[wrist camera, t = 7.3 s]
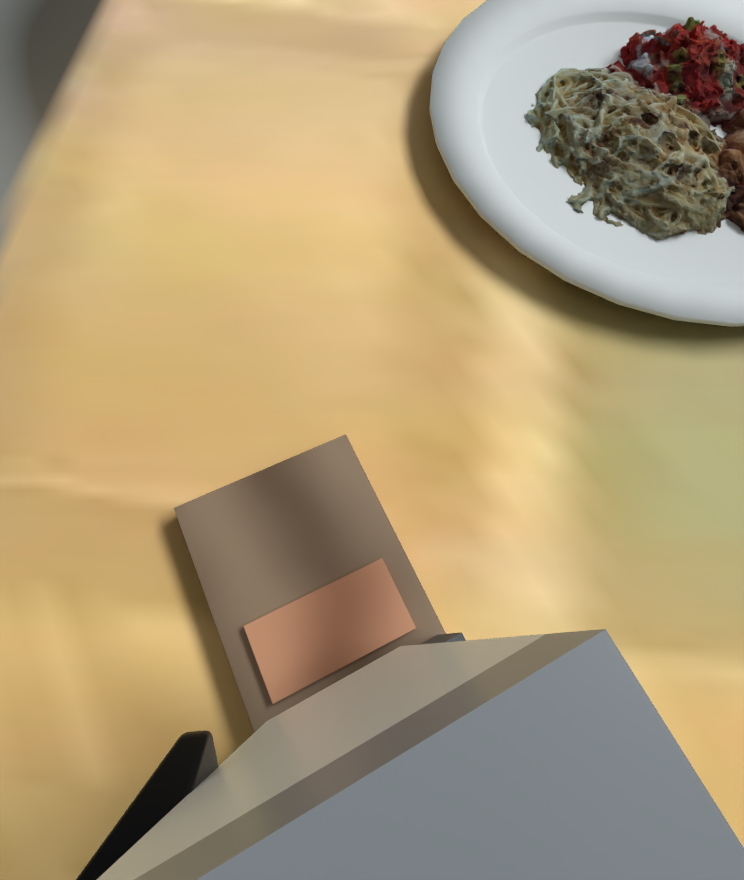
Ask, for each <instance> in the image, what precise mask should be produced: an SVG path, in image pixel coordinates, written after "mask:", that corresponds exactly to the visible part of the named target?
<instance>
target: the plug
mask: <svg viewBox="0 0 744 880" xmlns="http://www.w3.org/2000/svg"><path fill="white" fill-rule="evenodd" d="M97 880H744V848H743V846H742V845H741V843H740V842H739V840H738V838H737V837H736V835H735V834H734V832H733V830H732V829H731V827H730V826H729V824H728V822H727V821H726V819H725V818H724V816H723V815H722V813H721V811H720V810H719V808H718V807H717V805H716V803H715V802H714V800H713V799H712V797H711V796H710V794H709V792H708V791H707V789H706V788H705V786H704V784H703V783H702V781H701V780H700V778H699V777H698V775H697V773H696V772H695V770H694V769H693V767H692V765H691V764H690V762H689V761H688V759H687V758H686V756H685V754H684V753H683V751H682V750H681V748H680V746H679V745H678V743H677V742H676V740H675V739H674V737H673V735H672V734H671V732H670V731H669V729H668V727H667V726H666V724H665V723H664V721H663V720H662V718H661V716H660V715H659V713H658V712H657V710H656V708H655V707H654V705H653V704H652V702H651V701H650V699H649V697H648V696H647V694H646V693H645V691H644V689H643V688H642V686H641V685H640V683H639V682H638V680H637V678H636V677H635V675H634V674H633V672H632V670H631V669H630V667H629V666H628V664H627V662H626V661H625V659H624V658H623V656H622V655H621V653H620V651H619V650H618V648H617V647H616V645H615V643H614V642H613V640H612V639H611V637H610V636H609V634H608V632H607V631H606V629H602V630H590V631H578V632H565V633H553V634H541V635H529V636H517V637H505V638H493V639H480V640H468V641H456V642H444V643H432V644H420V645H408V646H400V647H398V648H396V649H395V650H393V651H391V652H389V653H388V654H386V655H384V656H382V657H380V658H379V659H377V660H375V661H373V662H371V663H370V664H368V665H366V666H364V667H362V668H361V669H359V670H357V671H355V672H354V673H352V674H350V675H348V676H346V677H345V678H343V679H341V680H339V681H337V682H336V683H334V684H332V685H330V686H329V687H327V688H325V689H323V690H321V691H320V692H318V693H316V694H314V695H312V696H311V697H309V698H307V699H305V700H304V701H302V702H300V703H298V704H296V705H295V706H293V707H291V708H289V709H287V710H286V711H284V712H282V713H280V714H278V715H277V716H275V717H273V718H271V719H270V720H268V721H266V722H265V723H264V724H263V725H262V726H261V727H260V728H259V729H258V730H257V731H256V732H255V733H253V734H252V735H251V736H250V737H249V738H248V739H247V740H246V741H245V742H244V743H243V744H242V745H241V746H240V747H238V748H237V749H236V750H235V751H234V752H233V753H232V754H231V755H230V756H229V757H228V758H227V759H226V760H225V761H223V762H222V763H221V764H220V765H219V766H218V768H217V769H216V770H215V771H214V772H213V773H211V774H210V775H209V776H208V777H207V778H206V779H205V780H204V781H203V782H202V783H201V784H200V785H199V786H198V787H196V788H195V789H194V790H193V791H192V792H191V793H189V794H188V795H187V796H186V797H185V798H184V799H183V800H182V801H181V802H179V803H178V804H177V805H176V806H175V807H174V808H173V809H172V810H171V811H170V812H169V813H168V814H167V815H166V816H164V817H163V818H162V819H161V820H160V821H159V822H158V823H157V824H156V825H155V826H154V827H153V828H152V829H151V830H149V831H148V832H147V833H146V834H145V835H144V836H143V837H142V838H141V839H140V840H139V841H138V842H137V843H135V844H134V845H133V846H132V847H131V848H130V849H129V850H128V851H127V852H126V853H125V854H124V855H123V856H122V857H120V858H119V859H118V860H117V861H116V862H115V863H114V864H113V865H112V866H111V867H110V868H109V869H108V870H107V871H105V872H104V873H103V874H102V875H101V876H100V877H99V878H98V879H97Z"/></svg>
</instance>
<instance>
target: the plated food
mask: <svg viewBox="0 0 744 880" xmlns="http://www.w3.org/2000/svg"><path fill="white" fill-rule="evenodd" d="M429 111H430V116H431V121H432V126H433V132H434V137H435V142H436V146H437V148H438V150H439V152H440V154H441V156H442V158H443V160H444V163H445V165H446V167H447V169H448V171H449V173H450V175H451V177H452V180H453V181H454V183H455V184H456V185H457V187H458V188H459V189H460V191H461V192H462V193H463V195H464V196H465V197H466V198H467V200H468V201H469V202H470V204H471V205H472V206H473V208H474V209H475V210H476V212H477V213H478V214H479V215H480V217H481V218H482V219H483V220H485V221H486V222H487V223H488V224H489V225H490V226H491V227H492V228H493V229H494V230H496V231H497V232H498V233H499V234H500V235H501V236H502V237H503V238H504V239H506V240H507V241H508V242H509V243H510V244H511V245H512V246H513V247H514V248H516V249H517V250H518V251H519V252H520V253H522V254H524V255H525V256H527V257H528V258H530V259H531V260H533V261H534V262H536V263H538V264H539V265H541V266H542V267H544V268H545V269H547V270H549V271H550V272H552V273H553V274H555V275H556V276H558V277H559V278H561V279H563V280H564V281H566V282H568V283H570V284H573V285H575V286H577V287H579V288H582V289H584V290H586V291H588V292H591V293H593V294H595V295H597V296H600V297H602V298H604V299H606V300H609V301H611V302H613V303H615V304H618V305H621V306H625V307H628V308H632V309H635V310H639V311H643V312H646V313H650V314H654V315H657V316H661V317H665V318H668V319H672V320H677V321H685V322H694V323H703V324H712V325H721V326H729V327H735V326H744V0H487V1H486V2H484V3H483V4H482V5H480V6H479V7H478V8H477V9H475V10H474V11H473V12H471V13H470V14H469V15H468V16H466V17H465V18H464V19H463V20H462V21H461V22H460V24H459V25H458V26H457V28H456V29H455V30H454V31H453V33H452V34H451V35H450V36H449V38H448V39H447V40H446V42H445V43H444V45H443V48H442V50H441V53H440V55H439V58H438V60H437V63H436V65H435V68H434V70H433V75H432V84H431V95H430V107H429Z"/></svg>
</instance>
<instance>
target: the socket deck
mask: <svg viewBox="0 0 744 880" xmlns="http://www.w3.org/2000/svg"><path fill="white" fill-rule="evenodd" d="M174 510H175V513H176V516H177V518H178V521H179V524H180V527H181V530H182V532H183V535H184V538H185V541H186V544H187V546H188V549H189V552H190V555H191V558H192V560H193V563H194V566H195V569H196V571H197V574H198V577H199V580H200V583H201V585H202V588H203V591H204V594H205V597H206V599H207V602H208V605H209V608H210V611H211V613H212V616H213V619H214V622H215V624H216V627H217V630H218V633H219V636H220V638H221V641H222V644H223V647H224V650H225V652H226V655H227V658H228V661H229V664H230V666H231V669H232V672H233V675H234V678H235V680H236V683H237V686H238V689H239V691H240V694H241V697H242V700H243V703H244V705H245V708H246V711H247V714H248V717H249V719H250V722H251V725H252V728H253V731H254V733H255V732H256V731H257V730H258V729H259V728H260V727H261V726H262V725H263V724H264V723H265V722H266V721H268V720H270V719H271V718H273V717H275V716H277V715H278V714H280V713H282V712H284V711H286V710H287V709H289V708H291V707H293V706H295V705H296V704H298V703H300V702H302V701H304V700H305V699H307V698H309V697H311V696H312V695H314V694H316V693H318V692H320V691H321V690H323V689H325V688H327V687H329V686H330V685H332V684H334V683H336V682H337V681H339V680H341V679H343V678H345V677H346V676H348V675H350V674H352V673H354V672H355V671H357V670H359V669H361V668H362V667H364V666H366V665H368V664H370V663H371V662H373V661H375V660H377V659H379V658H380V657H382V656H384V655H386V654H388V653H389V652H391V651H393V650H395V649H396V648H398V647H400V646H408V645H420V644H432V643H444V642H456V641H466V640H465V638H464V636H463V634H462V633H452V634H446V633H445V631H444V629H443V627H442V625H441V623H440V621H439V619H438V617H437V615H436V613H435V611H434V609H433V607H432V605H431V603H430V601H429V599H428V597H427V595H426V593H425V591H424V589H423V587H422V585H421V583H420V581H419V579H418V577H417V575H416V573H415V571H414V569H413V567H412V565H411V563H410V561H409V559H408V557H407V555H406V553H405V551H404V549H403V547H402V545H401V543H400V541H399V539H398V537H397V536H396V534H395V532H394V530H393V528H392V526H391V524H390V522H389V520H388V518H387V516H386V514H385V512H384V510H383V508H382V506H381V504H380V502H379V500H378V498H377V496H376V494H375V492H374V490H373V488H372V486H371V484H370V482H369V480H368V478H367V476H366V474H365V472H364V470H363V468H362V466H361V464H360V462H359V460H358V458H357V456H356V454H355V452H354V450H353V448H352V446H351V444H350V442H349V440H348V438H347V436H346V434H345V435H343V436H341V437H338V438H336V439H334V440H331V441H329V442H327V443H324V444H322V445H320V446H318V447H315V448H313V449H311V450H308V451H306V452H304V453H301V454H299V455H297V456H294V457H292V458H290V459H287V460H285V461H283V462H280V463H278V464H276V465H273V466H271V467H269V468H266V469H264V470H262V471H259V472H257V473H255V474H252V475H250V476H248V477H245V478H243V479H241V480H238V481H236V482H234V483H231V484H229V485H227V486H224V487H222V488H220V489H217V490H215V491H213V492H210V493H208V494H206V495H203V496H201V497H199V498H196V499H194V500H192V501H189V502H187V503H185V504H182V505H180V506H178V507H175V508H174Z"/></svg>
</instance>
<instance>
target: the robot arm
mask: <svg viewBox="0 0 744 880" xmlns="http://www.w3.org/2000/svg"><path fill="white" fill-rule="evenodd" d="M217 768H218V762H217V757H216V752H215V747H214V742H213V737H212V734H211V733H210V732H209V731H195V732H187V733H184V734H183V735H181V736H180V738H179V739H178V740H177V742H176V743H175V744H174V746H173V747H172V748H171V750H170V751H169V753H168V754H167V755H166V757H165V758H164V759H163V761H162V762H161V764H160V765H159V766H158V768H157V769H156V770H155V772H154V773H153V775H152V776H151V777H150V779H149V780H148V781H147V783H146V784H145V786H144V787H143V788H142V790H141V791H140V792H139V794H138V795H137V797H136V798H135V799H134V801H133V802H132V803H131V805H130V806H129V808H128V809H127V810H126V812H125V813H124V815H123V816H122V817H121V819H120V820H119V821H118V823H117V824H116V826H115V827H114V828H113V830H112V831H111V832H110V834H109V835H108V837H107V838H106V839H105V841H104V842H103V843H102V845H101V846H100V848H99V849H98V850H97V852H96V853H95V854H94V856H93V857H92V859H91V860H90V861H89V863H88V864H87V865H86V867H85V868H84V870H83V871H82V872H81V874H80V875H79V876H78V878H77V879H76V880H97V879H98V878H99V877H100V876H101V875H102V874H103V873H104V872H105V871H107V870H108V869H109V868H110V867H111V866H112V865H113V864H114V863H115V862H116V861H117V860H118V859H119V858H120V857H122V856H123V855H124V854H125V853H126V852H127V851H128V850H129V849H130V848H131V847H132V846H133V845H134V844H135V843H137V842H138V841H139V840H140V839H141V838H142V837H143V836H144V835H145V834H146V833H147V832H148V831H149V830H151V829H152V828H153V827H154V826H155V825H156V824H157V823H158V822H159V821H160V820H161V819H162V818H163V817H164V816H166V815H167V814H168V813H169V812H170V811H171V810H172V809H173V808H174V807H175V806H176V805H177V804H178V803H179V802H181V801H182V800H183V799H184V798H185V797H186V796H187V795H188V794H189V793H191V792H192V791H193V790H194V789H195V788H196V787H198V786H199V785H200V784H201V783H202V782H203V781H204V780H205V779H206V778H207V777H208V776H209V775H210V774H211V773H213V772H214V771H215V770H216V769H217Z"/></svg>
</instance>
